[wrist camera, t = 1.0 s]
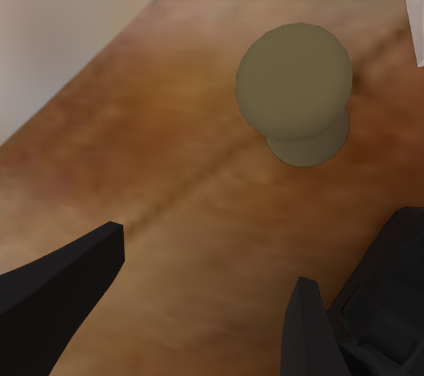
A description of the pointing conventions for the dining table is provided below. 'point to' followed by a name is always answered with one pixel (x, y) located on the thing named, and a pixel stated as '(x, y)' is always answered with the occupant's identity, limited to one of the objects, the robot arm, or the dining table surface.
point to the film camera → (385, 303)
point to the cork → (297, 92)
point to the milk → (417, 27)
